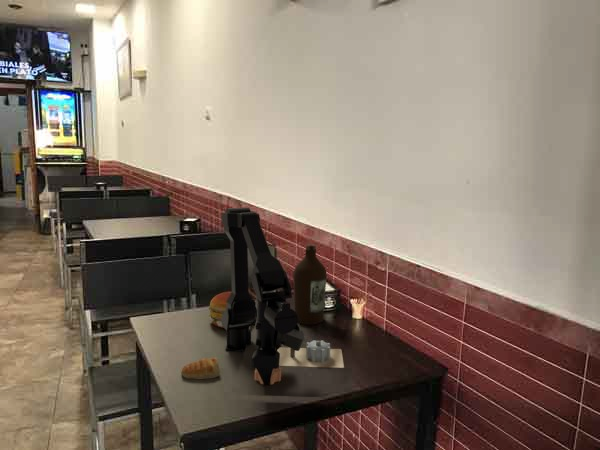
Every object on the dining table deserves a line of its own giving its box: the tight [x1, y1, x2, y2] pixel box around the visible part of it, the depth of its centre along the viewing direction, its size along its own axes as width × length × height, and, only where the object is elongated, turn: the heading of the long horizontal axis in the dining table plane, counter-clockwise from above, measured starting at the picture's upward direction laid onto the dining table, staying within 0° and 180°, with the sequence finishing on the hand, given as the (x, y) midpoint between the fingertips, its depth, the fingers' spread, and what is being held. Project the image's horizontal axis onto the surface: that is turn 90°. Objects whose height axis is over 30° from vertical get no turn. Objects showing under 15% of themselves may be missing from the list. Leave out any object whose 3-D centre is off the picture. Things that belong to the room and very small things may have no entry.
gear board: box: [277, 346, 345, 369], centre depth 133 cm, size 20×11×6 cm, turn 89°
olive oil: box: [293, 243, 328, 326], centre depth 161 cm, size 11×11×25 cm
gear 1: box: [254, 366, 282, 385], centre depth 121 cm, size 6×6×4 cm
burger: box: [208, 291, 232, 329], centre depth 157 cm, size 14×14×10 cm
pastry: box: [180, 356, 221, 380], centre depth 125 cm, size 9×7×4 cm
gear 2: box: [305, 340, 331, 363], centre depth 133 cm, size 6×6×4 cm
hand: (268, 378), depth 121 cm, fingers closed on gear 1, 6 cm apart
